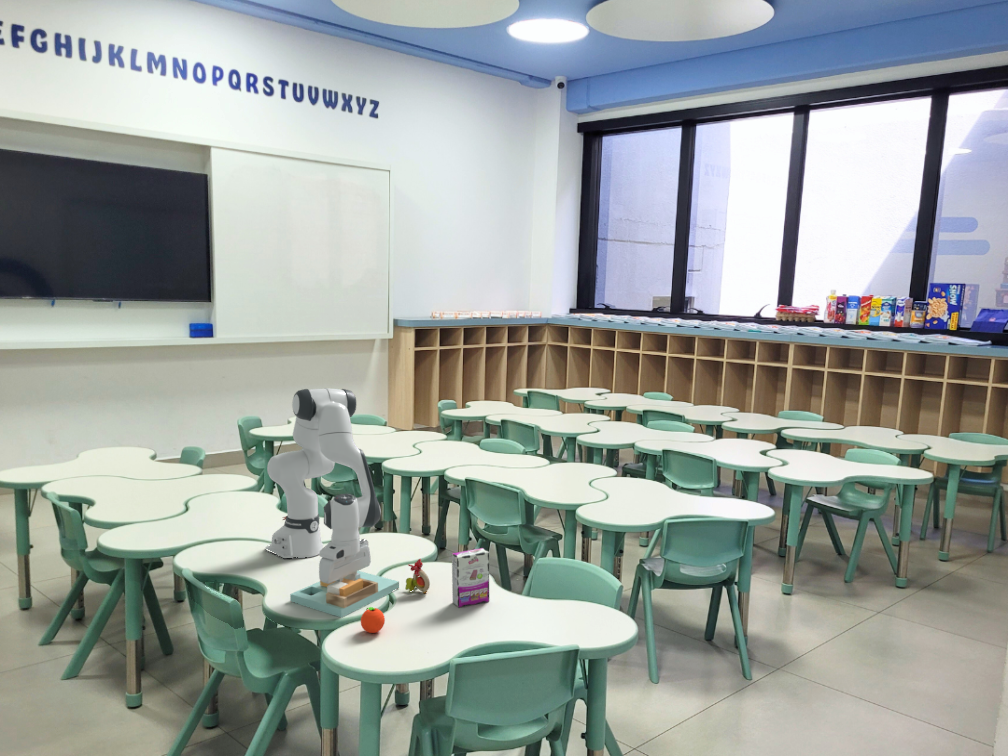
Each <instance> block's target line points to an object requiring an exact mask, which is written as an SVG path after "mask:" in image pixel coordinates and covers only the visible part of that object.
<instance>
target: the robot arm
mask: <svg viewBox="0 0 1008 756" xmlns="http://www.w3.org/2000/svg"><path fill="white" fill-rule="evenodd" d="M292 398H293V399H292V402H291V406H292V410H293V411H292V412H293V414H294V416H295V422H294V427H293V432H292V437H293V441H294V442H295V444H296V445H298V446H299V447H302V448H301V449H299V450H292V451H286V452H282V453H279V454H276V455H273V456H271V457H270V459H269V460H268V462H267V475H268V476H269V478H270V479H271V480H272V481H273V482H274V483H276V484H278V485H279V486H280V487H281V489H282V491H283V492H284V495H285V498H286V507H287V508H286V510H287V511H286V512H287V515H286V516H283V517H282V521H284V524H283V525H282V526H281V527H280V528H279V529H277V530H276V531H275V532H274V533H272V536H271V543H270V544H269V545H270V546H268V545H267V546H265V548H266V549H268V550H270V551H272V552H274V553H276V554H277V555H279V556H281V557H283V558H292V559H294V558H293V557H296V558H295V559H305V557H307V558H311V557H316V556H318V555H319V558H320V560H319V563H318V566H319V567H318V576H319V577H318V578H319V581H320V580H321V582H324V583H327V584H329V583H332V582H334V581H339V582H342V580H343V577H345V576H347V575H350V577H349V580H353V581H354V580H355V578H356V575H357V571H362V570H363V569H365V568H368V567H369V566H370V565H371V562H372V560H371V559H372V558H371V551H370V547H369V541H368V540H367V539H365V538H361V539H360V536H361V535H360V532H359V528H372V527H374V526H375V525H376V524H377V523H379V522H380V520H381V517H382V516H381V515H382V514H381V513H382V511H381V506H380V503H379V501H378V497H377V494H376V492H375V487H374V482H373V479H372V475H371V471H370V468H369V465H368V460H367V458H366V455H365V453H364V450H363V449H361V448H359V447H358V446H357V445H356V443H355V440H354V437H353V428H352V422H351V417H353V415H355V413H356V410H357V398H356V395H355V394H354V392H353V391H352V390H349V389H346V388H341V389H339V388H332V387H331V388H329V387H324V388H311V389H308V388H304V389H303V388H302V389H300V390H297V391H296V392H295V393H294V394H293V397H292ZM335 464H339V465H342V466H346V467H348V468H350V469H352V470H353V471H354V472H355V473H356V476H357V479H358V483H359V489H360V493H361V496H359V497H356V496H355V495H354V494H350V493H341V494H337V495H336V496H334V497H333V499H331V500H328V501H327V503H326V504H325V505H323V525H325V526H326V527H327V528H328V529H330V530H332V533H331V537H330V538H331V540H330V541H329V542H328V543H327V544H326V545H325V546H324V542H322V536H321V529H320V514H319V503H318V501H319V500H318V499H319V498H318V495H317V493H316V491H314V490H313V489H311V488H309V487H306V486H305V480H309V479H314V478H321V477H323V476H325V475H327V474H330V473H332V471H333V470H334V468H335ZM323 546H324V547H323ZM277 555H276V556H277ZM279 556H278V557H279ZM281 557H280V558H281ZM297 557H298V558H297ZM283 558H282V559H283Z"/></svg>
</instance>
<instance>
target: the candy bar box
mask: <svg viewBox="0 0 1008 756" xmlns="http://www.w3.org/2000/svg"><path fill="white" fill-rule="evenodd" d="M451 574H452V577H451V578H452V579H451V582H452V584H451V585H452V587H451V588H452V591H451V592H452V603H453V604H454V605H455V606H456V607H458V608H463V607H464V608H465V607H468V606H474V605H477V604H482V603H487V602H490V552H489V551H488V550H486V549H485V548H484V547H481V548H475V549H469V550H464V551H459V552H453V553H451Z"/></svg>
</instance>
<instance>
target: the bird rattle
mask: <svg viewBox="0 0 1008 756" xmlns="http://www.w3.org/2000/svg"><path fill="white" fill-rule="evenodd" d="M423 565H424V564H423V562H422V559H421V558H418V559H417V561H416V562H414V565H413V564H410V563H409V564H407V566H408V567H410V571H411V572H413V574H412V577H407V578H406V579H405V583H406V584H405V590H406V591H407V590H409V592H410V591H412V590H414V591H415V588H416V589H417V588H418V591H420V592H422V593H423V594H424V593H425V594H426V592H427V593H428V590H429V589H430V585H431V582H430V579H429V576H428V575H427V573H426V572H425V571H424V570H423V569H422V567H423Z"/></svg>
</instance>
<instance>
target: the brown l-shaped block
mask: <svg viewBox="0 0 1008 756" xmlns="http://www.w3.org/2000/svg"><path fill="white" fill-rule="evenodd" d="M359 579H362V578H359ZM362 580H363V589H361V590H359V591H356V592H354V593H352V594H350V595H348V596H346V597H343V596H340V595H337V594H333V593H330V592H328V593H326V603H328V604H332V605H335V606H338V607H342V608H346V607H348V606H350V605H352V604H354V603H356V602H358V601H360V600H362V599H364V598H366V597H368V596H370V595H372V594H375V593H377V592H378V583H377V582H374V581H370V580H366V579H362Z"/></svg>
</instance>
